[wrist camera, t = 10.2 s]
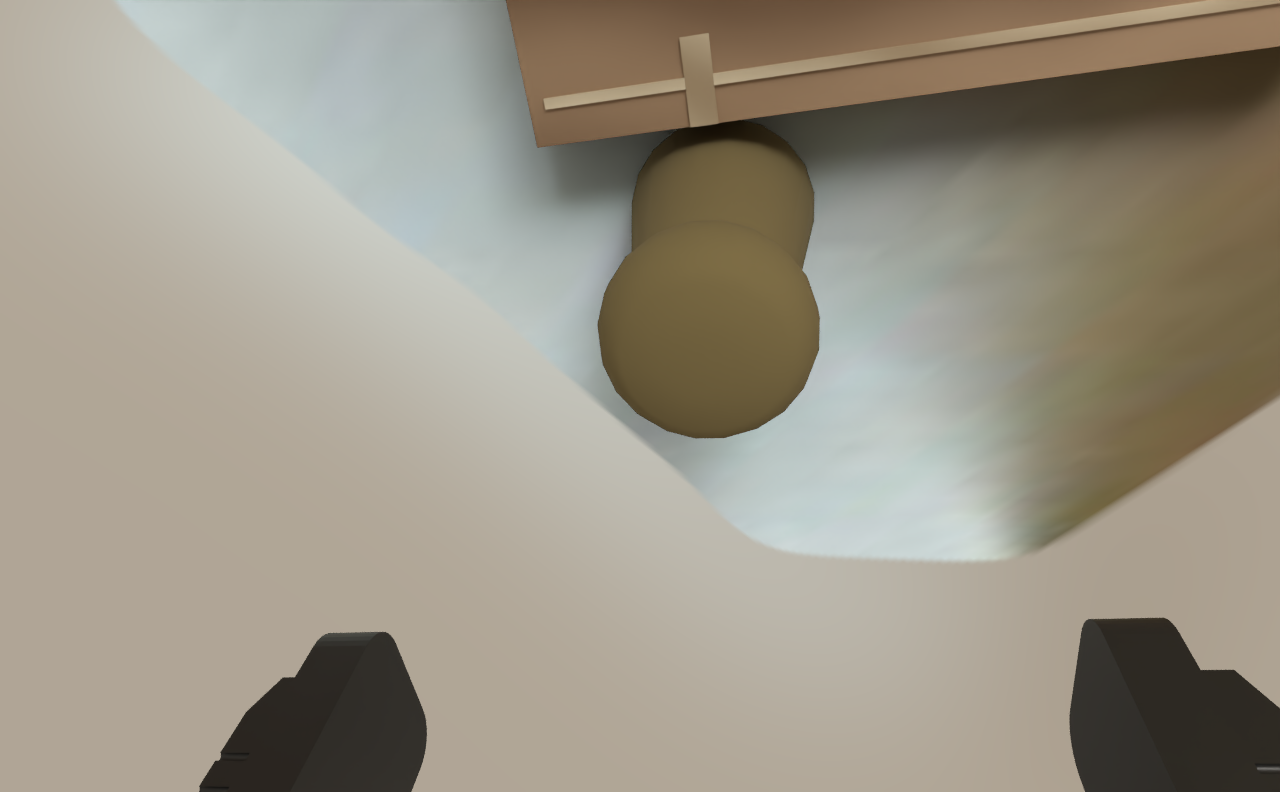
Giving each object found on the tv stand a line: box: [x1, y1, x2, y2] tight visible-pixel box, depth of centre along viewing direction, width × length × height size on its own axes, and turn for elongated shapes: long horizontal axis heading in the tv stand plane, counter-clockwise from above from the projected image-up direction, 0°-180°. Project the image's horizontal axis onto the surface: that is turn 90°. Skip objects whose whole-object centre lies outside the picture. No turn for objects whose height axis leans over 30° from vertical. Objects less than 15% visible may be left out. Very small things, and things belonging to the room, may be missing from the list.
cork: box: [598, 120, 820, 438], centre depth 23 cm, size 6×6×11 cm
